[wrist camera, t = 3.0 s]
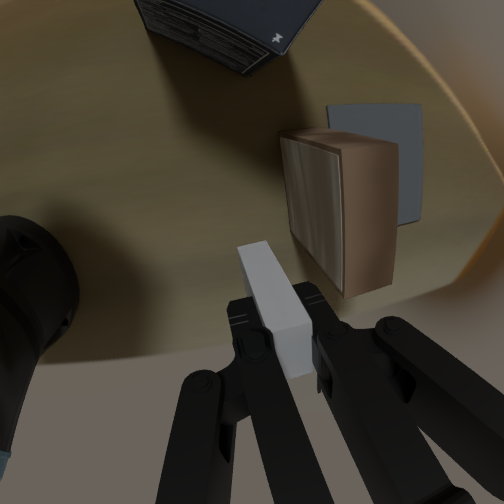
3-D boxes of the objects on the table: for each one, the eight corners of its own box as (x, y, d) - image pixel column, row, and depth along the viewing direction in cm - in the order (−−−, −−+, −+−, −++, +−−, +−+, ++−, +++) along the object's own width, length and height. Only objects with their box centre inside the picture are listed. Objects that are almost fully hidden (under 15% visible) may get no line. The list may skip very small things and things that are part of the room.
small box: (284, 26, 21) (337, -11, 12) (247, 80, 23) (284, 62, 14) (183, -24, 17) (185, -85, 8) (142, 29, 19) (117, -15, 10)
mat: (335, 238, 32) (336, 240, 31) (326, 105, 25) (327, 105, 25) (419, 218, 33) (420, 219, 33) (419, 104, 26) (421, 104, 26)
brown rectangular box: (289, 231, 30) (343, 299, 20) (277, 132, 26) (340, 149, 15) (326, 223, 31) (391, 284, 20) (318, 126, 26) (398, 143, 15)
